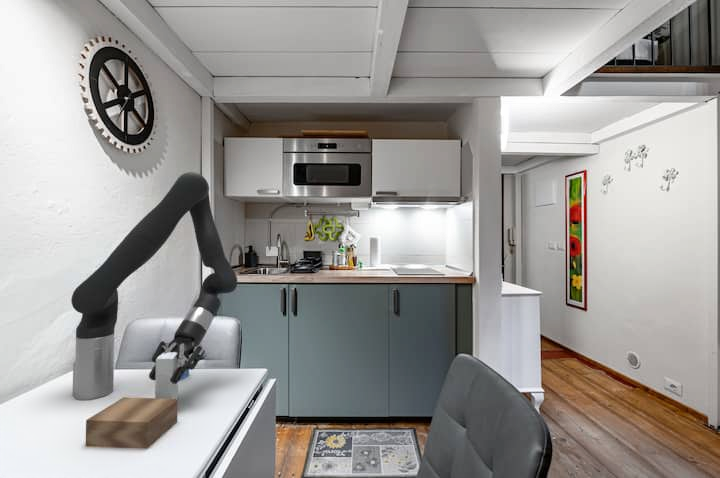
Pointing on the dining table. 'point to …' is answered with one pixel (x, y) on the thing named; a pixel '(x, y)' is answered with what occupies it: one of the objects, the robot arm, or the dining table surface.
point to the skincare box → (166, 376)
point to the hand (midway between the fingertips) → (162, 380)
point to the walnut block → (131, 423)
